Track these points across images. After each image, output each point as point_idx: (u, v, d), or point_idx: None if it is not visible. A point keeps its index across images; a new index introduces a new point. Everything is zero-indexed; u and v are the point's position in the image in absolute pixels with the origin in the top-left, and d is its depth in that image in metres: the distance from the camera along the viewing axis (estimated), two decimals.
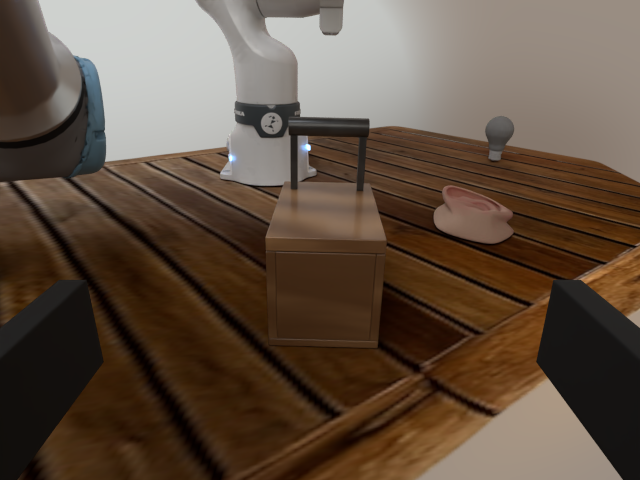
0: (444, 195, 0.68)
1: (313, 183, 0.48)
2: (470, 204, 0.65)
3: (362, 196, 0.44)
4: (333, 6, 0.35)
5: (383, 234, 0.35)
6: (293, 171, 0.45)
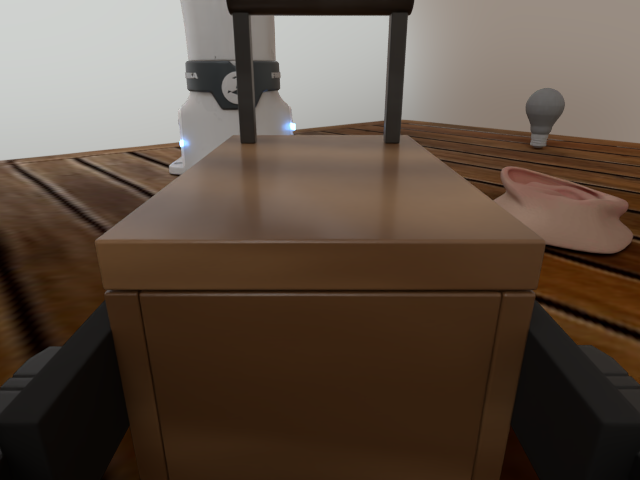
0: (506, 180, 0.43)
1: (291, 136, 0.23)
2: (552, 192, 0.41)
3: (401, 150, 0.19)
4: None
5: (518, 222, 0.10)
6: (243, 102, 0.20)
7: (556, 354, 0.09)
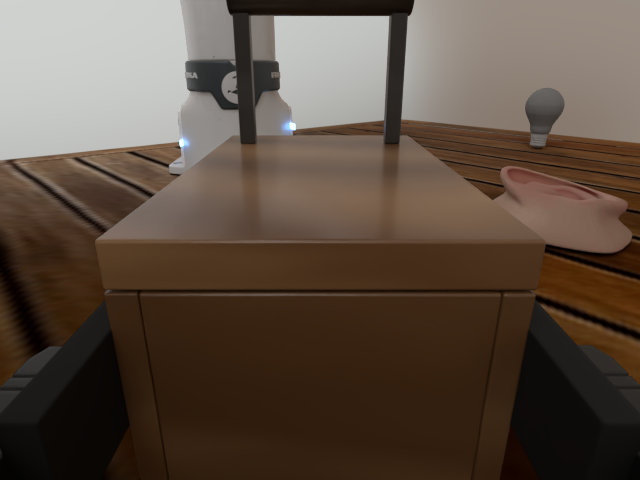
0: (505, 180, 0.43)
1: (291, 136, 0.23)
2: (551, 191, 0.41)
3: (401, 151, 0.19)
4: None
5: (518, 222, 0.10)
6: (243, 102, 0.20)
7: (556, 354, 0.09)
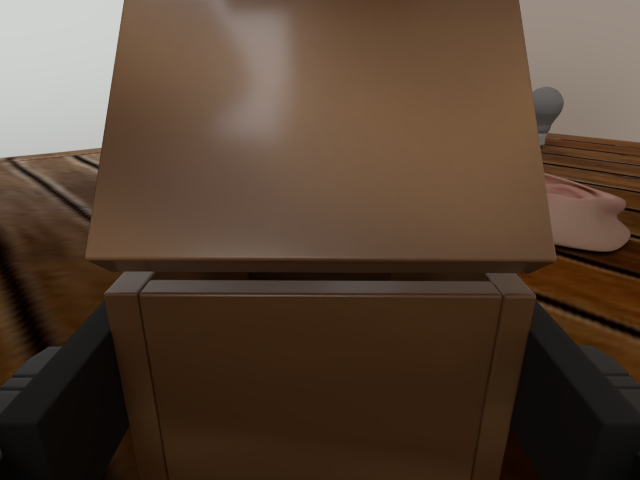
0: None
1: None
2: (550, 190, 0.41)
3: None
4: None
5: (543, 207, 0.09)
6: None
7: (556, 354, 0.09)
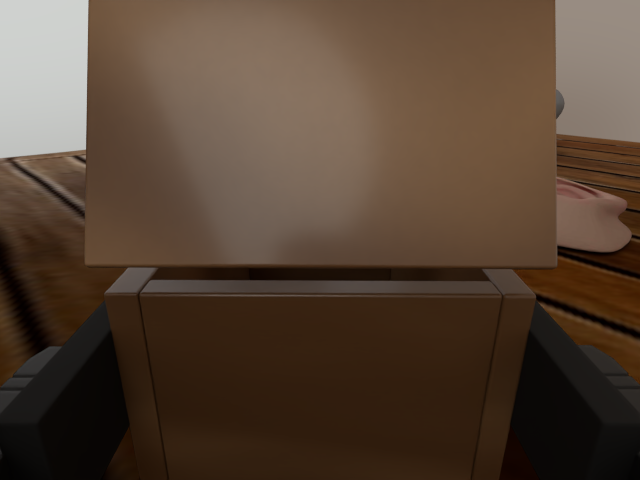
0: None
1: None
2: None
3: None
4: None
5: (551, 211, 0.09)
6: None
7: (556, 354, 0.09)
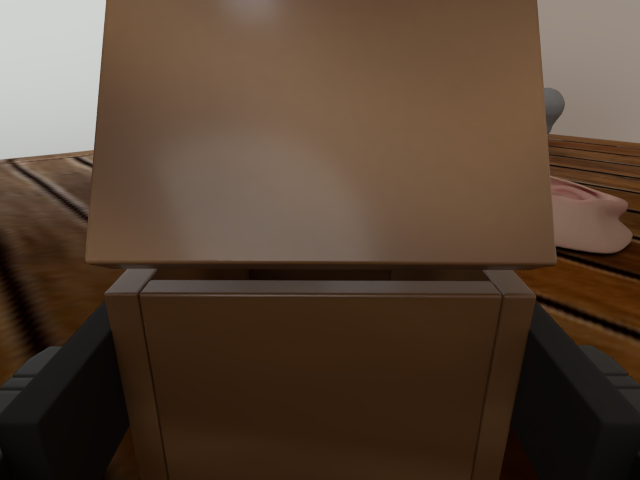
0: None
1: None
2: (551, 191, 0.41)
3: None
4: None
5: (547, 208, 0.09)
6: None
7: (556, 354, 0.09)
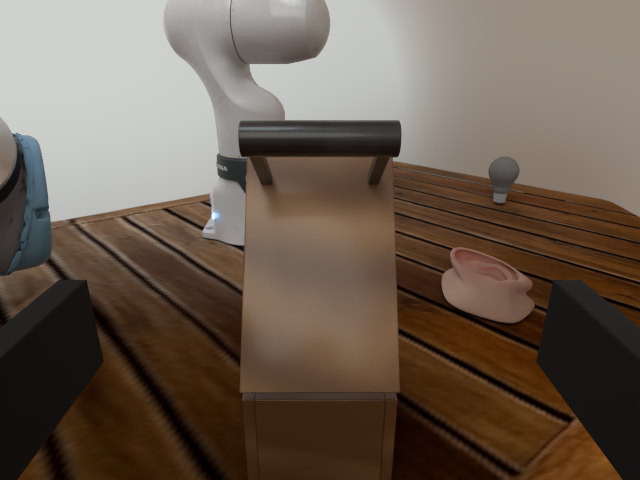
0: (452, 260, 0.60)
1: None
2: (483, 271, 0.58)
3: (375, 214, 0.28)
4: None
5: (397, 372, 0.26)
6: (260, 175, 0.27)
7: None
